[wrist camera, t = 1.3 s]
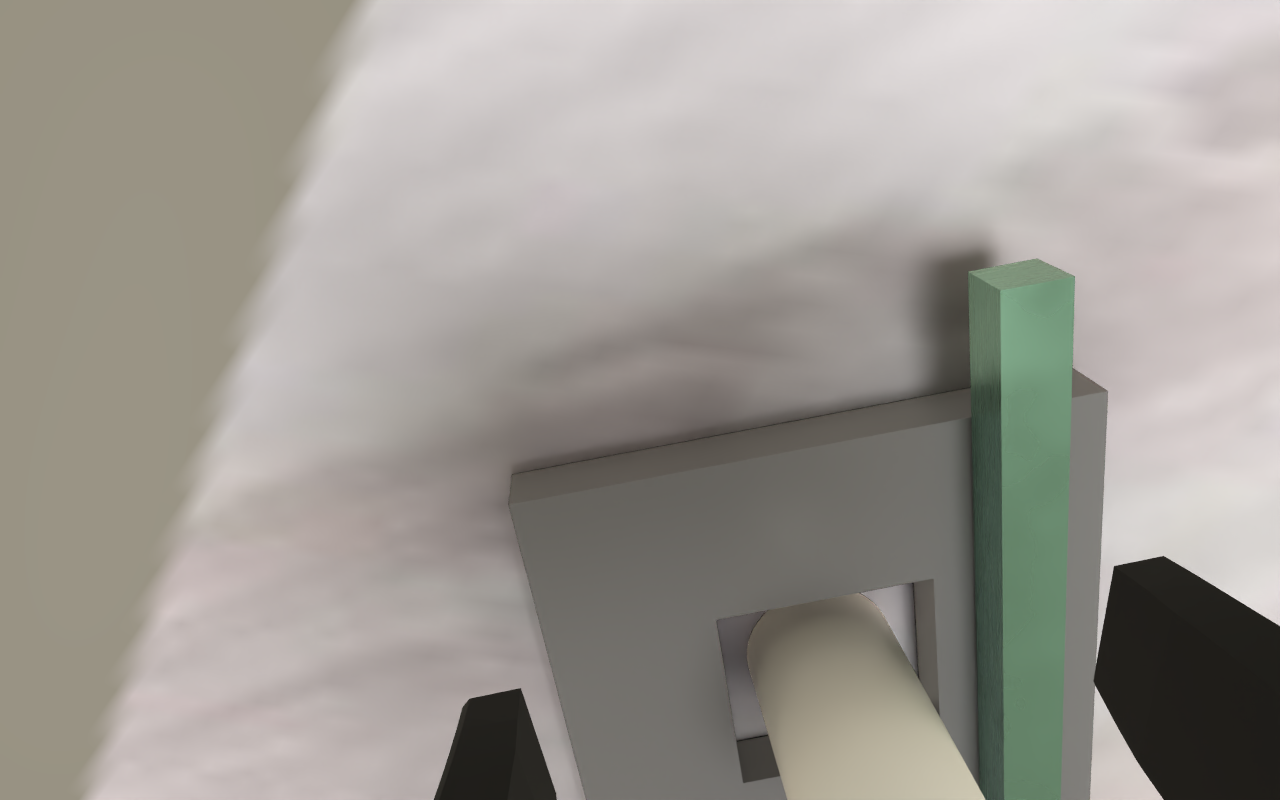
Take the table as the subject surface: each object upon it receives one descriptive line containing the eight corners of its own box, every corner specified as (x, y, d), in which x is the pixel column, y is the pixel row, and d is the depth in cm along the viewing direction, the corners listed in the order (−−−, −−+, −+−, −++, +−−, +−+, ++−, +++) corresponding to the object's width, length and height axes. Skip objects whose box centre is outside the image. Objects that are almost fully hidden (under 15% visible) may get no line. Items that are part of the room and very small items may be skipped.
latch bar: (1045, 841, 26) (1074, 890, 24) (965, 857, 26) (989, 907, 24) (1056, 254, 19) (1098, 272, 17) (946, 275, 19) (978, 295, 17)
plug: (893, 690, 25) (1030, 963, 18) (755, 716, 25) (835, 1000, 18) (885, 574, 23) (1032, 820, 16) (738, 602, 23) (818, 861, 16)
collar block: (1061, 786, 27) (1088, 826, 26) (614, 873, 27) (617, 918, 26) (1072, 368, 22) (1107, 391, 20) (512, 474, 21) (508, 505, 20)
